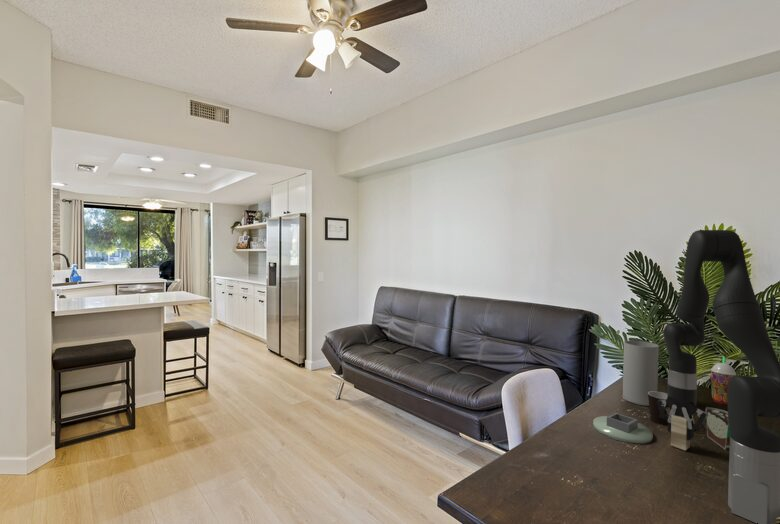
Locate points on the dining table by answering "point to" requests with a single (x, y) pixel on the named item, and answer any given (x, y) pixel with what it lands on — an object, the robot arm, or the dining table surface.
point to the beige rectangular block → (679, 432)
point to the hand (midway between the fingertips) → (680, 436)
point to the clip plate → (623, 428)
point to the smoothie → (721, 381)
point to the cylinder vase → (639, 371)
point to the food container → (718, 427)
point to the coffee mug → (653, 407)
